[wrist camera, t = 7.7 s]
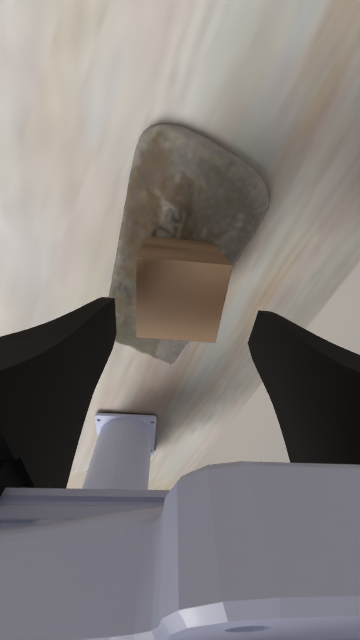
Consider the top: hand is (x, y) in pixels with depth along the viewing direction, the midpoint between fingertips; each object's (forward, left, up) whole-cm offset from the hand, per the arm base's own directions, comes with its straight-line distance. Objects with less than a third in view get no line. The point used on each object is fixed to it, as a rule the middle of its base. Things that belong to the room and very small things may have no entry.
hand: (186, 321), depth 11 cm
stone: (0, +1, -10) cm, 10 cm away
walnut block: (0, 0, -8) cm, 8 cm away
